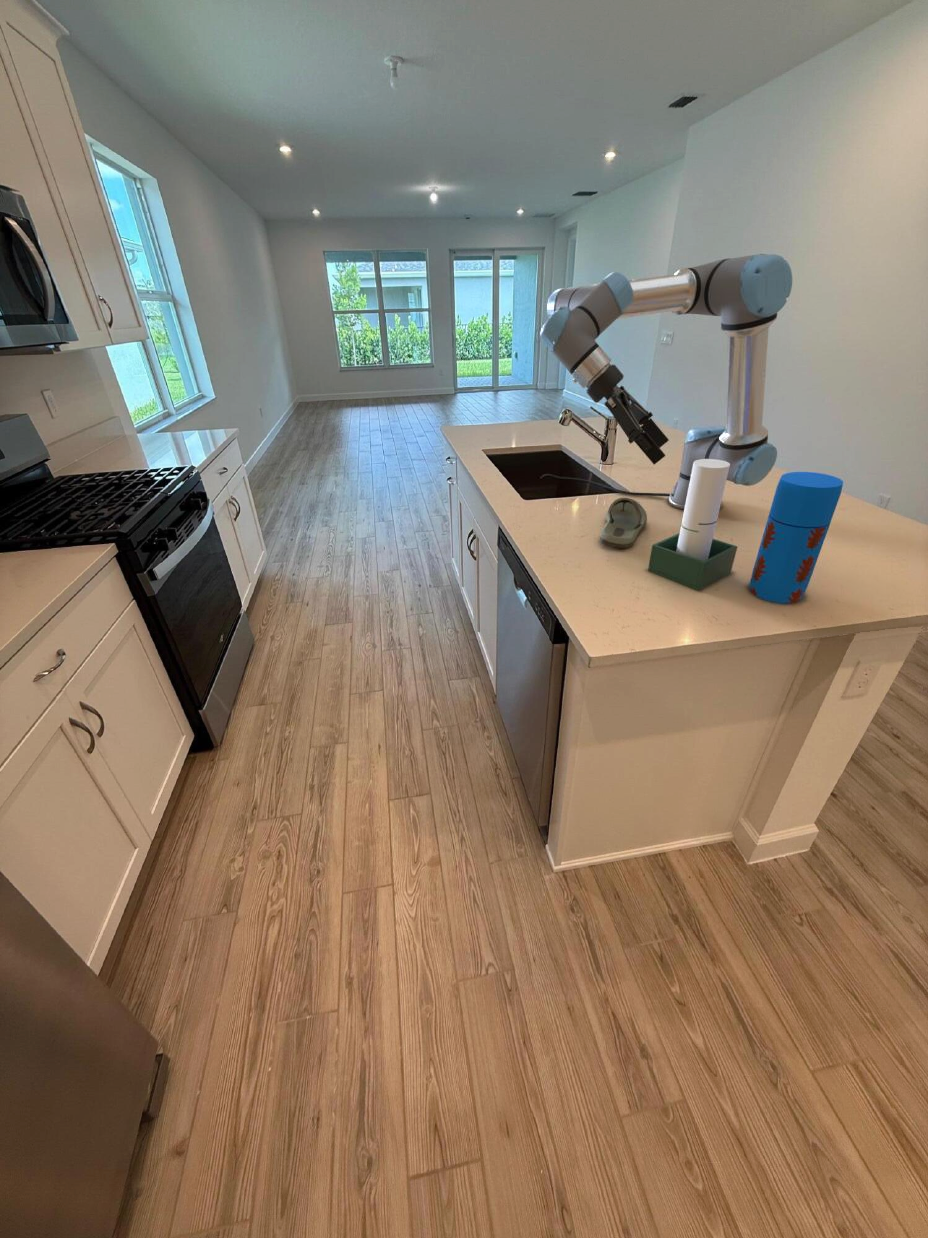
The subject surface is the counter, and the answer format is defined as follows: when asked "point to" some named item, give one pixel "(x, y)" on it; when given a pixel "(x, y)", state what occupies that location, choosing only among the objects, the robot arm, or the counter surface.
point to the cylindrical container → (702, 507)
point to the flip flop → (623, 523)
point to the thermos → (794, 535)
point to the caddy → (691, 563)
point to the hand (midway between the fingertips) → (662, 451)
